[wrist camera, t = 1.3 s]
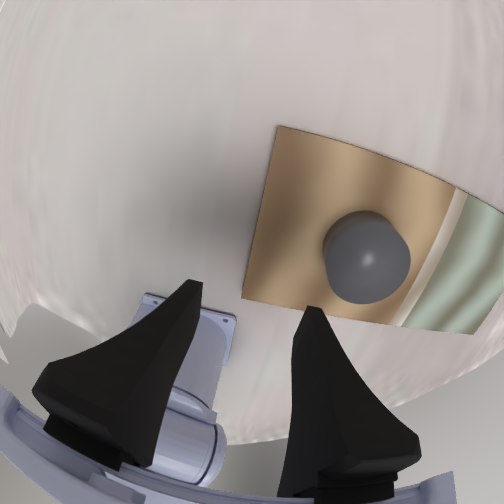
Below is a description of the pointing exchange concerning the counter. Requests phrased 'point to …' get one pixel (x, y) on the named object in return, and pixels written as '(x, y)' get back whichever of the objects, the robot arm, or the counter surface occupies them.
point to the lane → (399, 215)
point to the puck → (365, 257)
